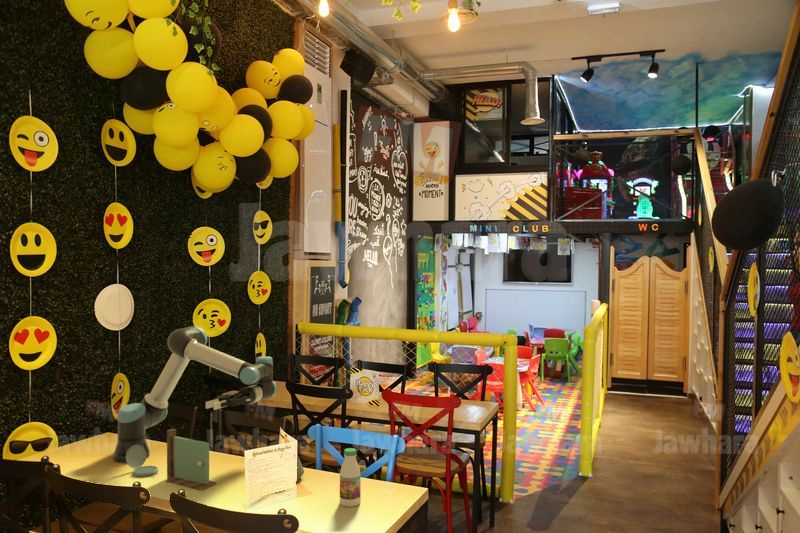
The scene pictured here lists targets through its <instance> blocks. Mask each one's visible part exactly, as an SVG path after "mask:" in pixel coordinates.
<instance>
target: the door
mask: <svg viewBox="0 0 800 533" xmlns="http://www.w3.org/2000/svg"><path fill="white" fill-rule="evenodd" d="M173 476H175V477H179V478H183V479H188V480H192V481H196V482H200V483H204V484H208V483H209V480H210V442H207V441H201V440H196V439H192V438H188V437H187V438H186V437H181V436H177V435H176V436H174V437H173Z"/></svg>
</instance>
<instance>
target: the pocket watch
mask: <svg viewBox="0 0 800 533" xmlns="http://www.w3.org/2000/svg"><path fill="white" fill-rule="evenodd" d="M146 459H147V458H146V450H145V449H144V447H143V446H141V445H133V446H131V447H130V448H129V449H128V451H127V453H126V462H125V463H126V464H127V465H128V467H130V468H132V469H133V471H132V475H133V477H134V476H135V477H137V478H145V477H151V476H156V475H158V474H159V473H158V472H159V468H158V466H155V465H144V464H145V462H146Z"/></svg>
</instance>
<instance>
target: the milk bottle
mask: <svg viewBox="0 0 800 533" xmlns="http://www.w3.org/2000/svg"><path fill="white" fill-rule="evenodd" d="M343 456H344V460H343V462H342V464H341V468H340V472H339V503H340V505H341V506H342V507H346V508H353V507H357V506H359V505H360V504H361V502H362V500H361V499H362V498H361V494H362V493H361V489H362V488H361V486H362V484H361V481H362V480H361V469H360V466H359V464H358V461H357V449H355V448H352V447H348V448H345V449H344V450H343Z"/></svg>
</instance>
